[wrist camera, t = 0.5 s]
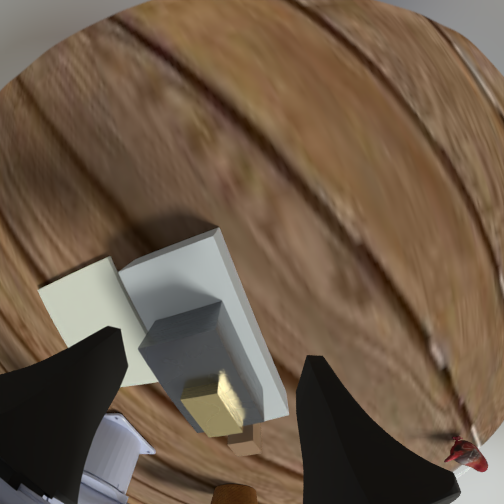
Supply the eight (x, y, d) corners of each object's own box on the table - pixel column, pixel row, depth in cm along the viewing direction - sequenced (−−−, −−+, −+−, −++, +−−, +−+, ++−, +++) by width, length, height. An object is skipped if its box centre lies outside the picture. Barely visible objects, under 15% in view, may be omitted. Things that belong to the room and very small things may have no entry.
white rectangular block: (216, 407, 23) (208, 459, 17) (135, 259, 19) (92, 292, 13) (285, 391, 23) (293, 446, 16) (219, 227, 19) (202, 251, 13)
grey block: (203, 400, 19) (195, 443, 15) (155, 320, 17) (131, 358, 13) (263, 388, 19) (264, 432, 15) (222, 300, 17) (212, 339, 13)
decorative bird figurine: (463, 442, 29) (483, 474, 19) (422, 440, 27) (445, 486, 17) (474, 432, 28) (495, 464, 19) (436, 427, 26) (462, 473, 16)
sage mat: (98, 386, 23) (96, 389, 23) (40, 288, 20) (37, 290, 20) (174, 375, 22) (173, 379, 22) (110, 255, 19) (107, 257, 19)
